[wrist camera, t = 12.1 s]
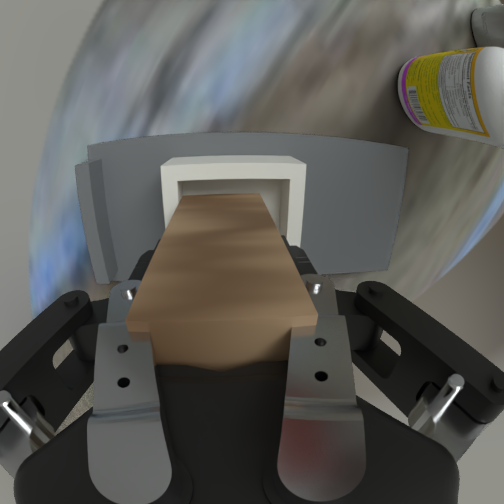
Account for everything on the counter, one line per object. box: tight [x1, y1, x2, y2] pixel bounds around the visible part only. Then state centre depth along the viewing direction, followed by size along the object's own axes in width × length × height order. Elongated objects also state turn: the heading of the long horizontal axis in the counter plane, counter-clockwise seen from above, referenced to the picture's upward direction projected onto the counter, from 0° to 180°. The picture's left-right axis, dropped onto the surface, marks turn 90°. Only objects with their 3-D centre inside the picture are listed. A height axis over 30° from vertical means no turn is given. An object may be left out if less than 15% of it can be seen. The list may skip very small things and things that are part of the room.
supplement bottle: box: [398, 47, 504, 149], centre depth 11 cm, size 7×7×13 cm
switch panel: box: [75, 132, 409, 284], centre depth 18 cm, size 22×10×4 cm, turn 89°
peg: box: [125, 193, 318, 371], centre depth 11 cm, size 4×4×10 cm
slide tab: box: [161, 155, 306, 248], centre depth 16 cm, size 7×7×4 cm
